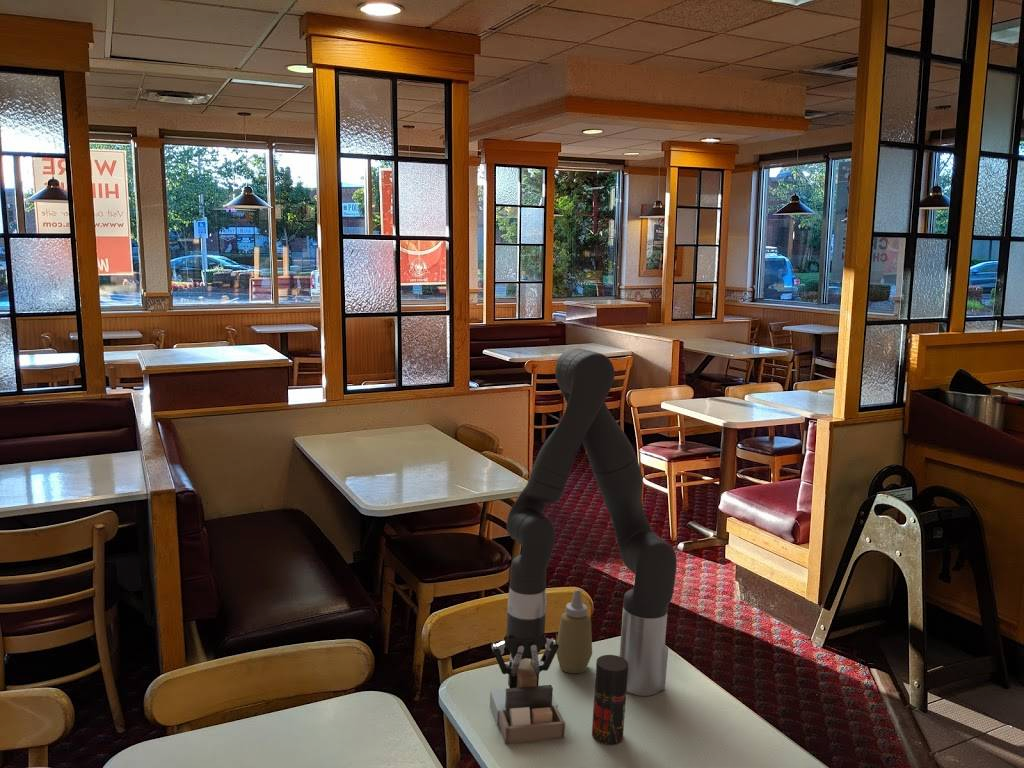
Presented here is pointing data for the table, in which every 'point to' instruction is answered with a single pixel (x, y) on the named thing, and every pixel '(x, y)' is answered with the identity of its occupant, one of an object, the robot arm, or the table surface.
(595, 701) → the deodorant
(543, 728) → the box
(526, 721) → the tile
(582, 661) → the squeeze bottle
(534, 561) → the robot arm
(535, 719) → the tile
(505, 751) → the table surface
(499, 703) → the grey flat-topped cover
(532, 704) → the scraper
